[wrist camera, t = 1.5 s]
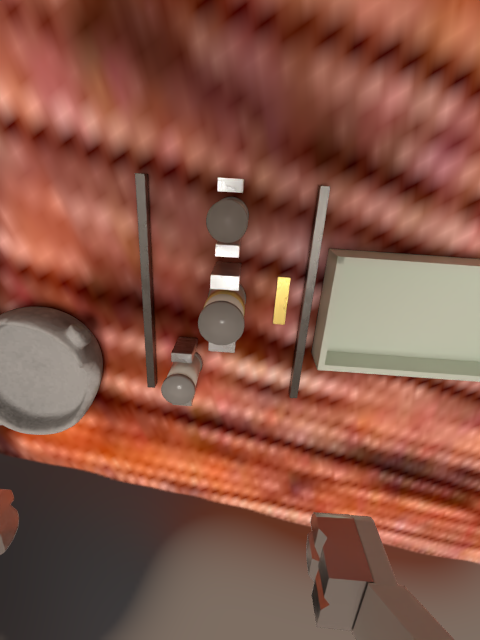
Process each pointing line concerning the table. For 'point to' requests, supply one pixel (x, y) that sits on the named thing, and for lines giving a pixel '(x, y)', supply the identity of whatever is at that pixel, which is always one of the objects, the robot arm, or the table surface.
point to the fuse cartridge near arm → (228, 219)
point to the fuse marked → (223, 316)
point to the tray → (399, 315)
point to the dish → (46, 370)
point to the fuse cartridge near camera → (182, 381)
